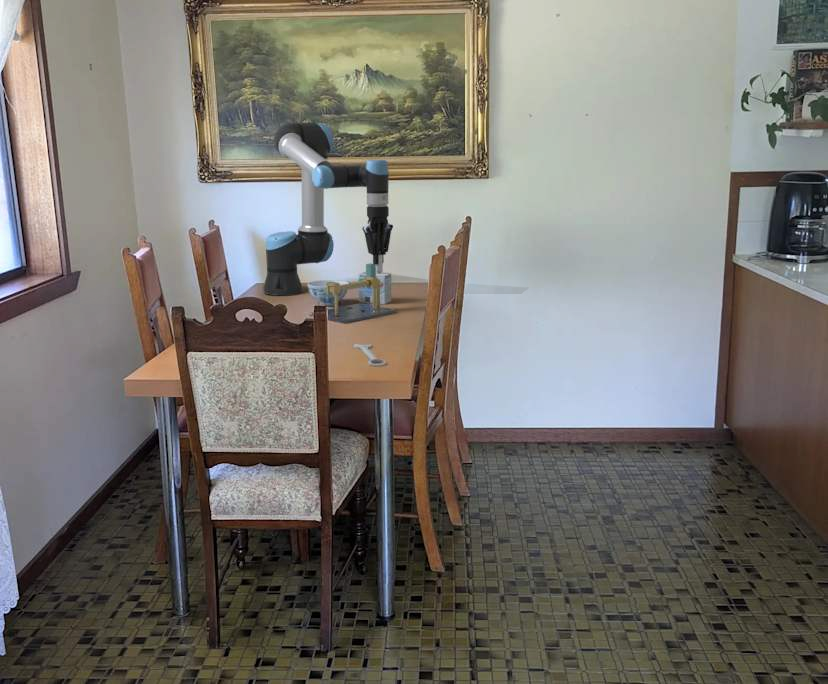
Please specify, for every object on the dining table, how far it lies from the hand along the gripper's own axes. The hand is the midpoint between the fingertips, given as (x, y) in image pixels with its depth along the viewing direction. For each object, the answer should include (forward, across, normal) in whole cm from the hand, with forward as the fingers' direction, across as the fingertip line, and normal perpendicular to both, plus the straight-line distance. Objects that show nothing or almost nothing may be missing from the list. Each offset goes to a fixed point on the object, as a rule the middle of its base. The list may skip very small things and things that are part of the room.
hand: (378, 273), depth 301 cm
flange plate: (+13, -12, 0) cm, 18 cm away
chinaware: (+13, -6, +20) cm, 25 cm away
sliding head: (+12, -4, 0) cm, 12 cm away
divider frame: (+12, -11, 0) cm, 16 cm away
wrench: (+14, -47, -45) cm, 66 cm away
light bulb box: (+13, +9, +11) cm, 19 cm away
